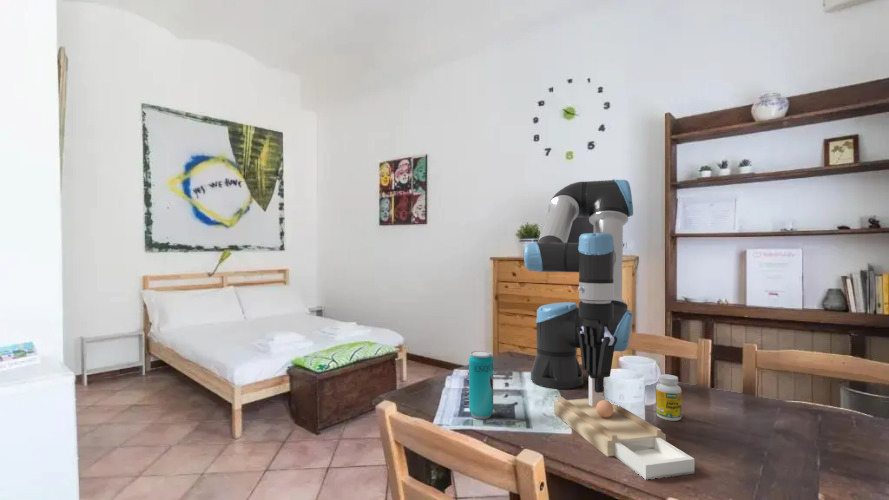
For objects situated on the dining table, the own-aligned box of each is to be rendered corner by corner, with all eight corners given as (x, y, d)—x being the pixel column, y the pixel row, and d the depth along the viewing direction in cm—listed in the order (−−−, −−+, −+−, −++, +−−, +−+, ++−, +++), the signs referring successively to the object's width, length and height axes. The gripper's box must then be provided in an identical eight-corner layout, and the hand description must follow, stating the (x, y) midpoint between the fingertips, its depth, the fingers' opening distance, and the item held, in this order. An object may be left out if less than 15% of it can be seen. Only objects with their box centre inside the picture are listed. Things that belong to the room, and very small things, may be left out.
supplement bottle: (671, 411, 107) (671, 372, 106) (686, 420, 101) (687, 379, 101) (651, 413, 106) (651, 373, 106) (665, 422, 101) (665, 380, 100)
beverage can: (494, 420, 102) (494, 356, 102) (469, 420, 102) (469, 356, 102) (492, 411, 108) (492, 350, 107) (468, 410, 108) (468, 350, 107)
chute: (554, 413, 106) (554, 397, 106) (602, 409, 109) (602, 393, 109) (607, 456, 84) (607, 436, 84) (665, 449, 87) (665, 429, 87)
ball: (600, 401, 94) (602, 419, 94) (615, 400, 95) (617, 418, 94) (592, 399, 98) (593, 416, 97) (607, 398, 98) (608, 415, 98)
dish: (611, 453, 86) (611, 440, 86) (655, 447, 88) (655, 435, 88) (645, 480, 76) (645, 465, 76) (694, 473, 78) (694, 458, 78)
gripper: (566, 298, 105) (566, 396, 105) (597, 305, 92) (596, 417, 92) (595, 297, 106) (594, 394, 106) (628, 304, 94) (628, 414, 94)
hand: (595, 404), depth 99 cm, fingers closed
